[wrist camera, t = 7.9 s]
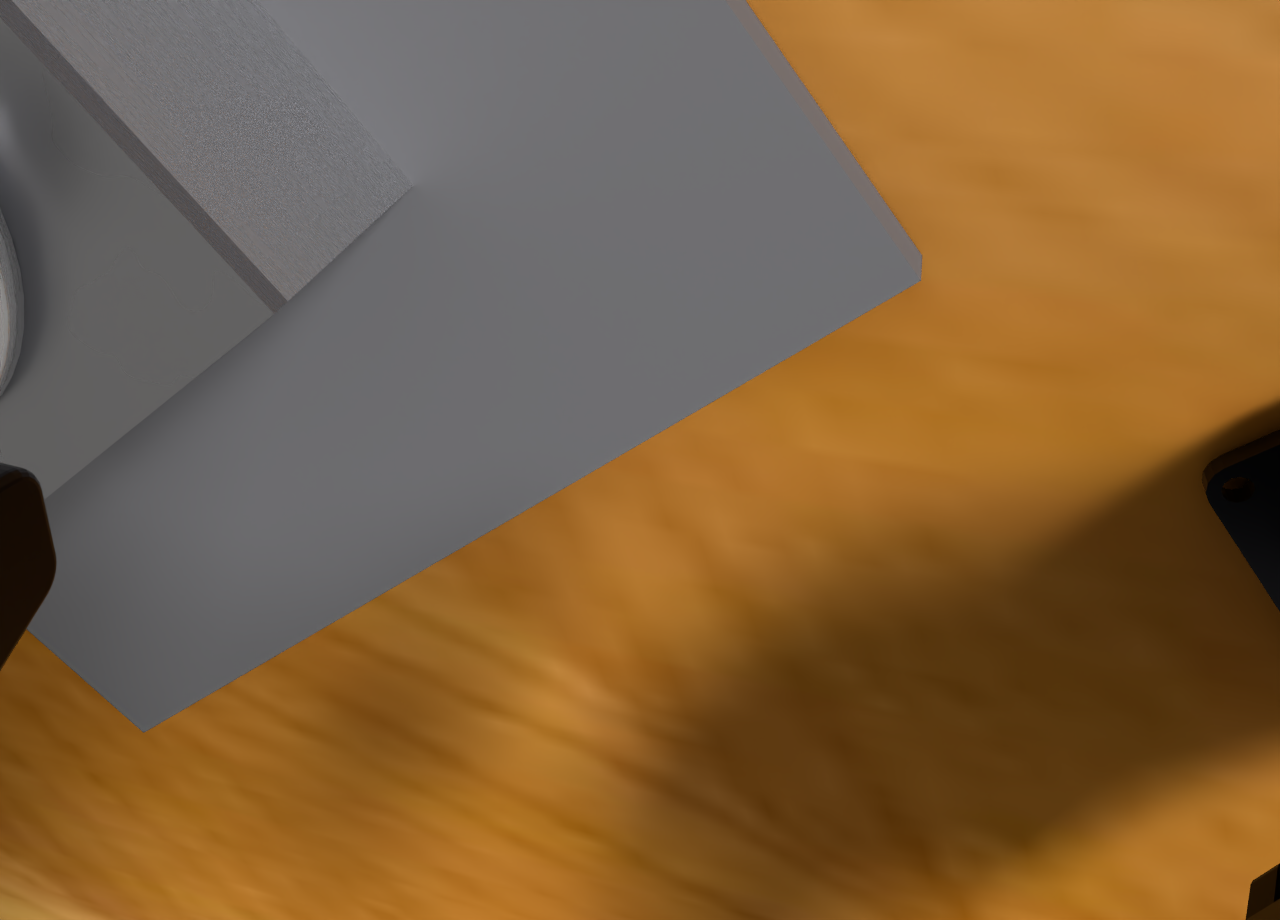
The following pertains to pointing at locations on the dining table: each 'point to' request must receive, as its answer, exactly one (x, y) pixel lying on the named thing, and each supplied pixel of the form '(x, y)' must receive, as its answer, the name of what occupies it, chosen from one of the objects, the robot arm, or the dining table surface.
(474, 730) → the dining table surface
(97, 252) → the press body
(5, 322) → the plunger
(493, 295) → the slate mat
